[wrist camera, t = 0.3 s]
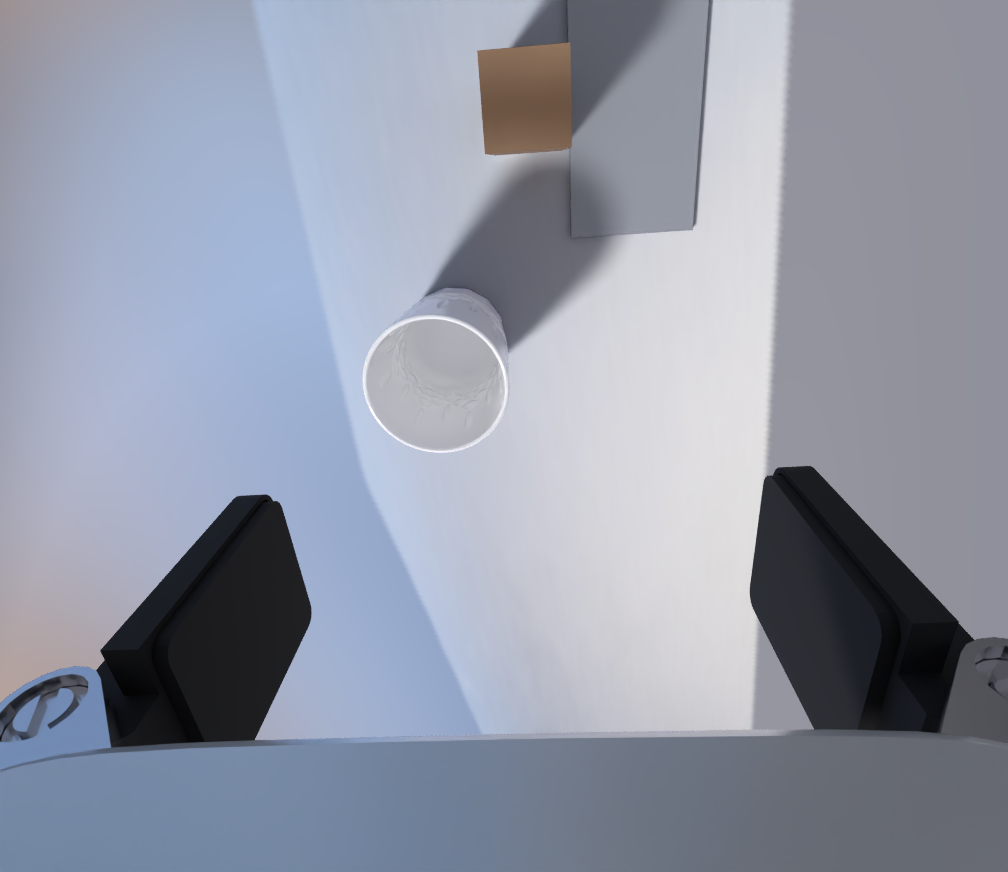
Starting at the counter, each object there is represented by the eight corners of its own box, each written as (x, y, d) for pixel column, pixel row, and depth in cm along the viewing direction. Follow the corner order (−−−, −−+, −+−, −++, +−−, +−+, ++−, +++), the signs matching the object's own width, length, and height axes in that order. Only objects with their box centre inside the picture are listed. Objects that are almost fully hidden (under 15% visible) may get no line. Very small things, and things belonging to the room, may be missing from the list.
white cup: (447, 252, 37) (421, 281, 28) (537, 331, 39) (540, 382, 30) (377, 340, 40) (333, 393, 31) (465, 409, 42) (447, 478, 33)
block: (489, 78, 33) (477, 50, 25) (559, 71, 32) (570, 42, 24) (495, 155, 34) (485, 153, 26) (561, 150, 34) (572, 147, 26)
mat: (566, -40, 30) (567, -42, 30) (710, -54, 30) (712, -57, 29) (571, 237, 36) (571, 238, 36) (690, 229, 36) (692, 229, 35)
